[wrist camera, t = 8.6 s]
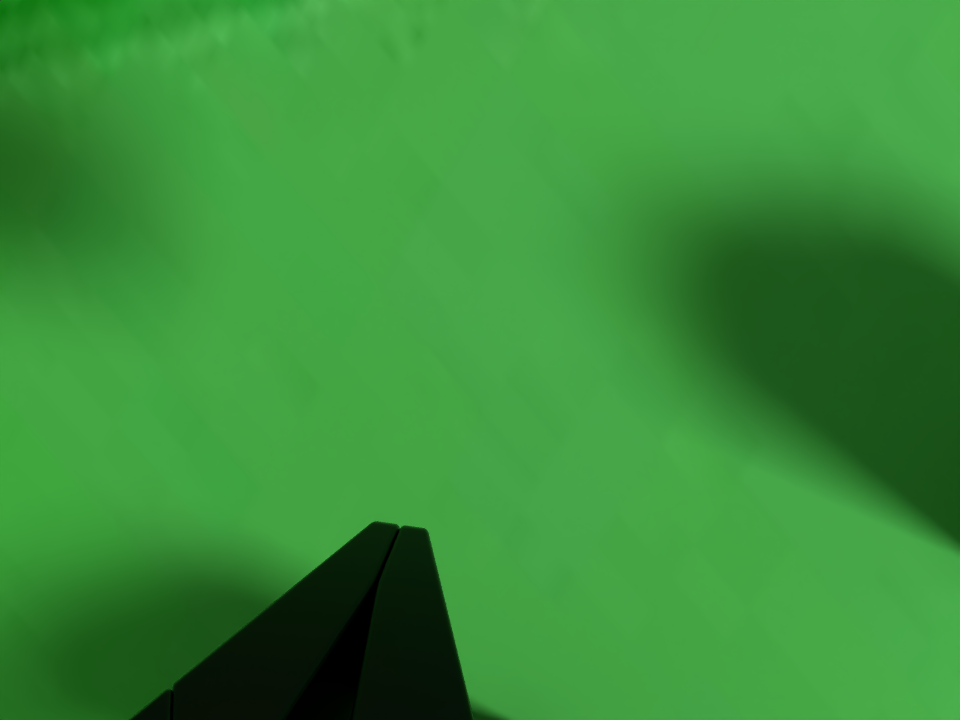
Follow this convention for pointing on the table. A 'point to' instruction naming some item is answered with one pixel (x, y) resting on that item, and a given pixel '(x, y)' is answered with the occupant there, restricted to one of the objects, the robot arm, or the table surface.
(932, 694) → the table surface
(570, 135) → the table surface
